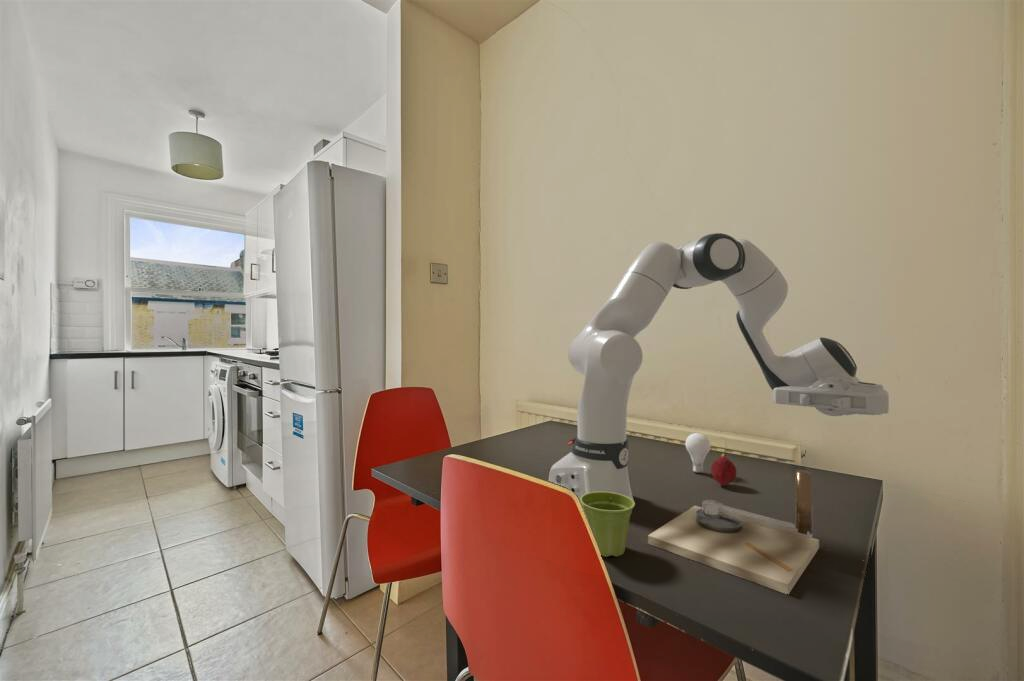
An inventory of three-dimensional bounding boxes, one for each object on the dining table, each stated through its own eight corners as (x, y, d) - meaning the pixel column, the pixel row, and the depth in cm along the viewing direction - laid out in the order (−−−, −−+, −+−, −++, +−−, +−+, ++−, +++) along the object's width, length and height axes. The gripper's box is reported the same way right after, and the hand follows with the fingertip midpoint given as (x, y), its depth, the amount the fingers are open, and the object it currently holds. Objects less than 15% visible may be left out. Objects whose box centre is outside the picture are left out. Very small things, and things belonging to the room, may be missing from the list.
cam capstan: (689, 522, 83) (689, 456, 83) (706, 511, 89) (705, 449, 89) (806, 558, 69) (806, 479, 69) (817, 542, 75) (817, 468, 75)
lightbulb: (681, 469, 122) (681, 431, 122) (702, 469, 123) (702, 430, 123) (692, 477, 116) (692, 436, 116) (715, 476, 117) (715, 435, 117)
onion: (739, 490, 106) (739, 457, 106) (714, 489, 107) (714, 456, 107) (732, 482, 111) (732, 451, 111) (708, 481, 112) (708, 450, 112)
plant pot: (596, 532, 83) (595, 487, 83) (643, 547, 77) (643, 498, 77) (570, 551, 76) (570, 501, 76) (620, 569, 70) (620, 515, 70)
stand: (647, 543, 78) (647, 534, 78) (694, 512, 92) (694, 504, 92) (788, 594, 63) (788, 583, 63) (819, 548, 76) (819, 538, 76)
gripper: (781, 379, 106) (763, 383, 96) (892, 385, 91) (884, 390, 81) (781, 404, 106) (764, 411, 96) (892, 415, 91) (885, 424, 81)
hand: (820, 402), depth 89 cm, fingers open, 4 cm apart
